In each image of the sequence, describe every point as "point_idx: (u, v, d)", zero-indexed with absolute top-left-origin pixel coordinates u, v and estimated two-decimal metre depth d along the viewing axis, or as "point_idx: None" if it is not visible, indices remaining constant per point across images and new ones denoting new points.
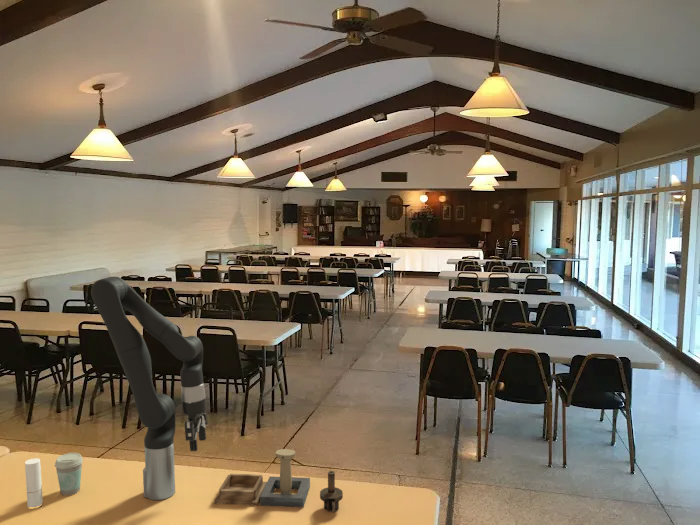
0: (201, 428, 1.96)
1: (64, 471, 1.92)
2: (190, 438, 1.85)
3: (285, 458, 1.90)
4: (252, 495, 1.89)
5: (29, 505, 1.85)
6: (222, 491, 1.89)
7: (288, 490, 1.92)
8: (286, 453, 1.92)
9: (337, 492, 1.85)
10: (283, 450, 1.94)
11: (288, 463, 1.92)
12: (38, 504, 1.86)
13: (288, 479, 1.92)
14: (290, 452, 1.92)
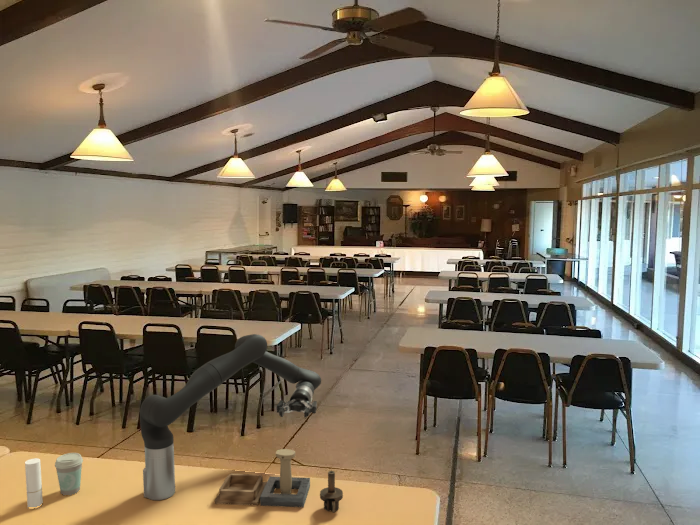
0: (284, 410, 2.10)
1: (64, 471, 1.92)
2: (315, 410, 2.10)
3: (285, 458, 1.90)
4: (252, 495, 1.89)
5: (29, 505, 1.85)
6: (222, 491, 1.89)
7: (288, 490, 1.92)
8: (286, 453, 1.92)
9: (337, 492, 1.85)
10: (283, 450, 1.94)
11: (288, 463, 1.92)
12: (38, 504, 1.86)
13: (288, 479, 1.92)
14: (290, 452, 1.92)
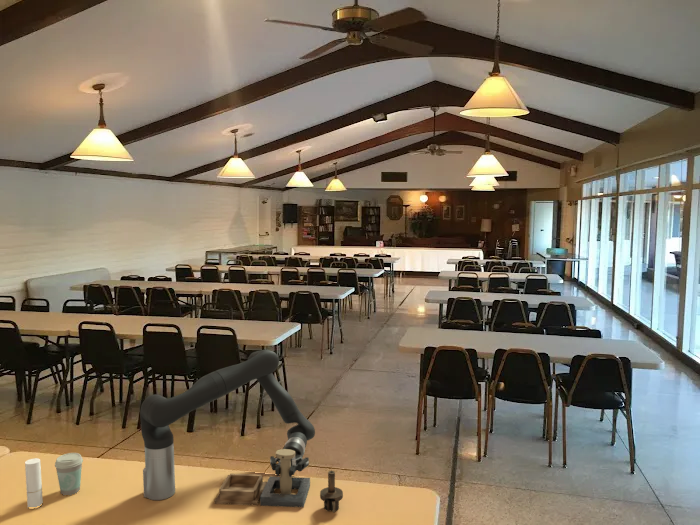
0: None
1: (64, 471, 1.92)
2: (301, 467, 1.95)
3: (285, 458, 1.90)
4: (252, 495, 1.89)
5: (29, 505, 1.85)
6: (222, 491, 1.89)
7: (288, 490, 1.92)
8: (286, 453, 1.92)
9: (337, 492, 1.86)
10: (283, 450, 1.94)
11: (288, 463, 1.92)
12: (38, 504, 1.86)
13: (288, 479, 1.92)
14: (290, 452, 1.92)
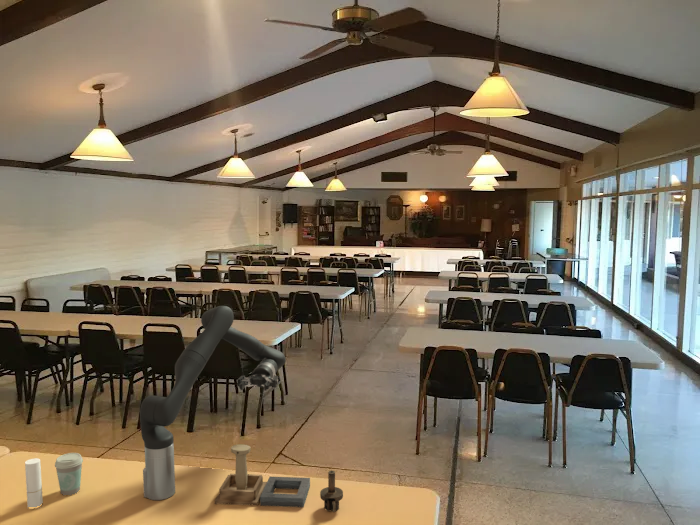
0: (244, 383, 2.10)
1: (64, 471, 1.92)
2: (275, 384, 2.11)
3: (240, 453, 1.91)
4: (252, 495, 1.89)
5: (29, 505, 1.85)
6: (222, 491, 1.89)
7: (243, 485, 1.94)
8: (241, 448, 1.93)
9: (338, 492, 1.86)
10: (239, 445, 1.95)
11: (243, 458, 1.93)
12: (38, 504, 1.86)
13: (243, 474, 1.93)
14: (245, 447, 1.94)
